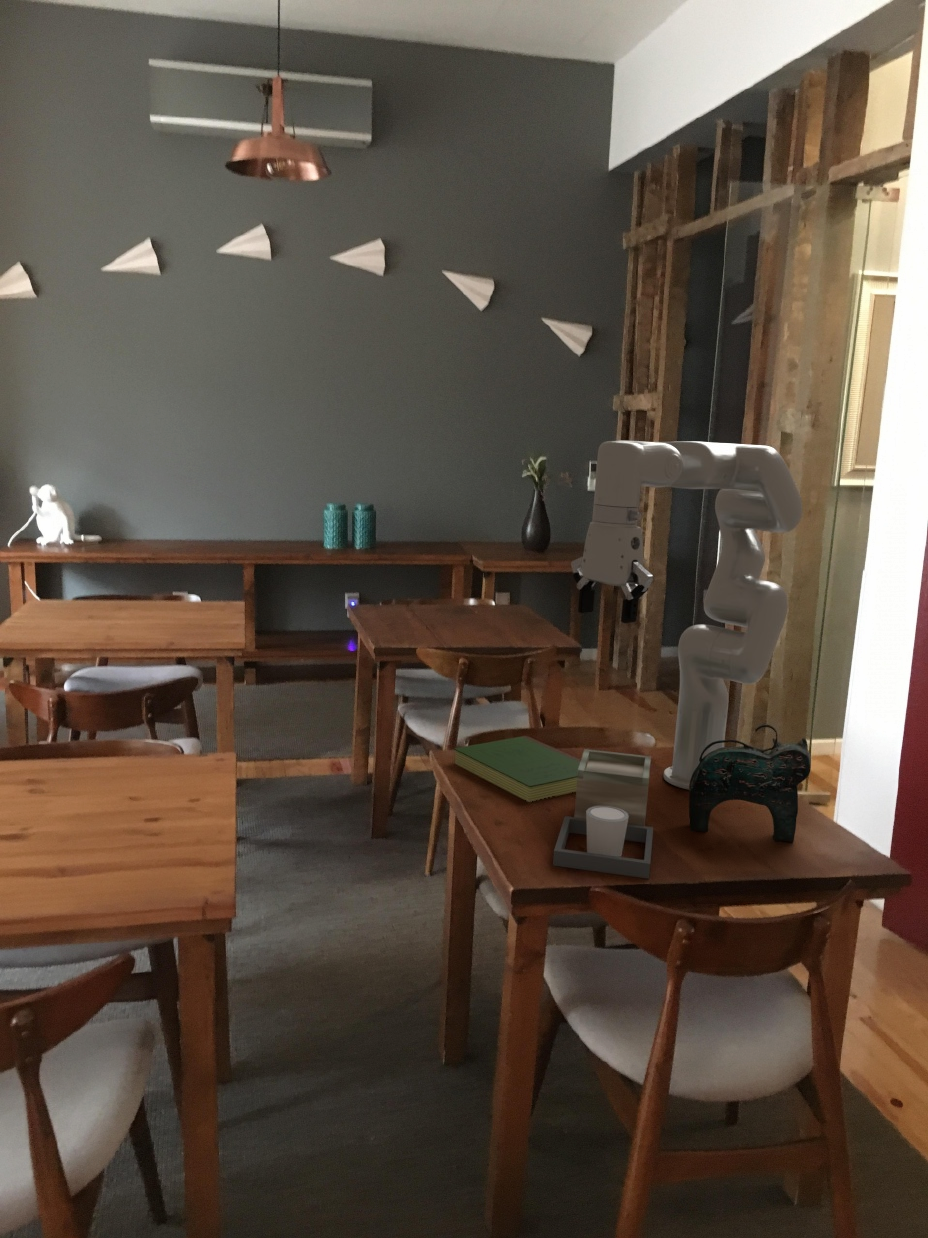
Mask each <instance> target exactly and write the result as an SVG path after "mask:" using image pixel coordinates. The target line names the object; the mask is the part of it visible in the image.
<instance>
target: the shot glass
mask: <svg viewBox="0 0 928 1238" xmlns="http://www.w3.org/2000/svg"><path fill="white" fill-rule="evenodd" d="M628 818H629V816H628V813H627V812H625V811H624V810H622V809H619V808H616V807H611V806H593V807H591V808H588V810H587V811H586V824H587V835H586V852H587V853H595V854H602V855H609V856H617V857H622V854H623V850H624V843H625V840H624V839H625V834H626V828H627V823H628Z"/></svg>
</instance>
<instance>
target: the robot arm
mask: <svg viewBox="0 0 928 1238" xmlns="http://www.w3.org/2000/svg"><path fill="white" fill-rule="evenodd" d="M595 474H596V475H595V484H594V496H593V499H594V500H593V509H592V521H591V522H589V525H588V529H587V533H586V536H585V537H586V538H585V541H584V548H583V554H582V555H583V556H580V557H578V558H576V559H574V560H572V561H571V562H570V566H571V570H572V573H573V575H572V576H573V579H574V580H575V582H576V588H577V589H578V590H579V596H578V606H577V609H578V610H577V611H578V613H579V614H580V613H581V614H583V613H584V614H586V613H592V612H593V611H594V603H595V592H596V591H595V589H594V588H593V587H594V585H596V583H599V584H606V585H609V586H615V587H620V588H621V589H622V591H623V594H624V595H625V598H623V600H622V605H621V616H620V621H621V623H622V624H629V623H635V622H636V621H637V616H638V611H639V610H638V609H639V600H641V599H642V598H643V596H644V595H645V593H646V592H648V590H649V587H650V586H651V584H652V581H653V580H654V576H653V574H652V573H651V572H649V571H648V570H647V569H646V568H645V567H644V540H643V539H644V538H643V533H642V527H640V526H638V523H639V521H640V522H641V520H642V519H643V514H642V513H641V512H639V509H640V508H639V507H640V501H641V489H642V488H641V487H647V488H657V489H658V488H666V487H667V488H668V487H670V488H675V489H676V488H677V489H685V490H686V489H688V490H719V491H718V492H717V495H716V498H715V503H714V506H715V507H714V509H715V515H716V519H717V522H718V526H719V530H720V534H721V540H722V545H721V546H722V547H721V553H720V556H719V559H718V562H717V565H716V567H715V570H714V573H713V575H712V577H711V580H710V583H709V585H708V587H707V588H708V589H707V591H706V594H705V597H704V601H703V611H704V612H705V615H706V616H707V617H708V618H710V619H712V620H714V621H716V622H719V623H723V624H726V625H727V624H728V625H733V626H737V627H742V628H746V631H740V630H734V629H731V628H726V627H722V626H716V625H711V624H701V623H700V624H694V625H691V626H689V627H687V628H686V629H685V630H684V631H683V632H682V633H681V634H680V638H679V640H678V641H679V642H678V645H677V647H678V649H677V652H678V654H677V655H678V665H679V693H678V704H677V714H676V722H675V723H676V725H675V733H674V734H675V735H674V743H673V745H674V746H673V755H672V766H669V767H667V768H665V769H664V771H663V779H664V780H665V781H666V782H667V783H669V784H671V785H673V786H675V787H677V788H680V789H685V790H688V791H689V784H690V779H691V777H692V774H693V772H694V770H695V769H696V767H697V766H698V764H699V763H700V761H699V758H700V756H701V753H702V752H703V750H704V749H705V748H706V746H707V745H709V744H710V743H712V742H715V741H719V740H726V739H725V736H726V728H727V720H728V709H729V693H728V689H727V686H726V683H725V681H724V680H727V681H732V682H734V683H735V682H736V683H740V684H745V685H749V684H751V685H752V684H756V683H757V682H759V681H760V680H761V679H762V677H764V675H765V673H766V671H767V669H768V667H769V665H770V663H771V659H772V657H773V654H774V652H775V649H776V645H777V644H778V641H779V637H780V635H781V632H782V630H783V627H784V624H785V621H786V618H787V613H788V608H789V607H788V606H789V605H788V596H787V595H788V594H787V593H786V591H785V589H784V588H783V587H782V586H781V585H780V584H778V583H776V582H773V581H768V580H763V579H760V577H761V574H762V571H763V569H764V566H765V561H766V555H765V551H764V547H763V545H762V543H761V541H760V539H759V537H758V535H757V532H756V531H761V532H770V533H779V534H784V533H788V532H791V531H793V530H795V529H796V527H797V526H798V525H799V524H800V521H801V520H802V515H803V504H802V503H803V502H802V499H801V498H802V497H801V494H800V492H799V489H798V487H797V485H796V482H795V481H794V479H793V476H792V473H791V471H790V470H789V467H788V465H787V463H786V461H785V460H784V459H783V456H781V454H780V453H779V452H778V451H777V450H776V449H775V448H774V447H772V446H768V445H759V444H741V443H727V442H711V441H710V442H708V441H688V440H687V441H685V440H684V441H683V440H682V441H679V440H678V441H641V440H640V441H639V440H619V439H618V440H608V441H604V442H602V443H601V444H600V445H599V447H598V450H597V461H596V473H595ZM721 747H725V743H717V744H714V745H712V746H711V747H710V748H708V749H707V750H706V751H705V752H704V754H703V756H702V758H703V757H704V756H706V755H707V754H708V753H710V752H712V751H714V750H716V749H718V748H721Z"/></svg>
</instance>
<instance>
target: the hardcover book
mask: <svg viewBox="0 0 928 1238" xmlns="http://www.w3.org/2000/svg"><path fill="white" fill-rule="evenodd" d="M453 751H455V754H454V755H455V756H454V758H455V759H454V764H455V765H457V766H458V767H461V769H465V770H466V771H468V772H470V773H472V774H474V775H476V776H477V777H479V778H481V779H484V780H485V781H487V782H489V783H491V784H493V785H494V786H496V787H499V788H500V789H503V790H505V791H506V792H508V793H510V794H511V795H514V796H515V797H518V798H520V799H522V800H524V801H525V800H526V802H527V803H532V801H533V802H536V800H537V801H541V800H540V799H542V800H545V799H544V798H546V799H549V798H548V797H550V798H553V797H552V796H555V797H558V796H563V795H568V794H572V792H573V793H576V788H577V775H578V768H579V765H580V762H581V759H582V758H577V757H576V756H573V755H571V754H569V753H566V752H565V751H562V750H560V749H557V748H555V747H554V746H552V745H549V744H546V743H544V742H542V741H539V740H537V739H534V738H532V737H530V736H529V735H522V736H517V737H510V738H505V739H500V740H499V739H498V740H494V741H489V742H484V743H477V744H471V745H466V746H460V747H455V748H453Z"/></svg>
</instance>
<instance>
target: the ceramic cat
mask: <svg viewBox="0 0 928 1238" xmlns="http://www.w3.org/2000/svg"><path fill="white" fill-rule="evenodd" d="M763 728H769V729H771V730H773V732H774V733H775V738H774V737H773V738H772V743H773V744H772V745H773V746H772V747H770V748H766V749H762V748H758V747H755V746H751V745H749V744H747V743H745V742H743V741H739V740H736V739H724V740H719V741H715V742H712V743H710V744H709V745H707V746H706V748H705V749H704V750H703V752H702V753H701V756H700V758H699V761H700V763H699V764H698V766H697V767H696V769H695V770H694V772H693V774H692V777H691V779H690V784H689V790H688V812H689V813H688V814H689V815H688V816H689V818H688V819H689V830H691V831H696V832H702V833H707V832H708V831H709V824H710V816H711V812H712V811H713V810H714V809H715V808H716V807H717V806H719V805H720V804H722V803H724V802H727V801H735V800H737V801H745V802H748V803H752V804H757V805H760V806H766V808H767V809H768V810H769V812H770V815H771V818H772V824H773V835H772V837H773V839H774V842H775V841H776V842H786V843H787V842H788V843H794V842H795V841H794V840H795V836H796V835H795V833H796V829H797V818H798V814H799V794H798V791H799V790H798V786H799V785H800V783H802V782H804V781H805V780H806V779H808V777H809V775H810V774H811V769H812V768H811V767H812V755H811V752H810V750H809V748H808V747H809V746H808V742H807V739H806V738H805V737H803V738H801V739H800V740H799V741H798V742H797V743H793V742H789V743H788V742H786V743H782V742H781V741H779V739H778V732H777V730H776V728H775V727H774V726H772V725H771V724H760V725H758V726H757V727H756V728H755V729H754V731H755V732H757V731H759V730H760V729H763ZM717 743H724V744H725V743H736V744H739V745H742V746H724V747H721V748H718V749H716V750H714V751H712V752H710V753H708V754H707V755H706V756H704V757H703V758H702V756H703V754H704V752H705V751H706V750H707V749H708V748H710V747H711V746H712V745H714V744H717Z"/></svg>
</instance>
